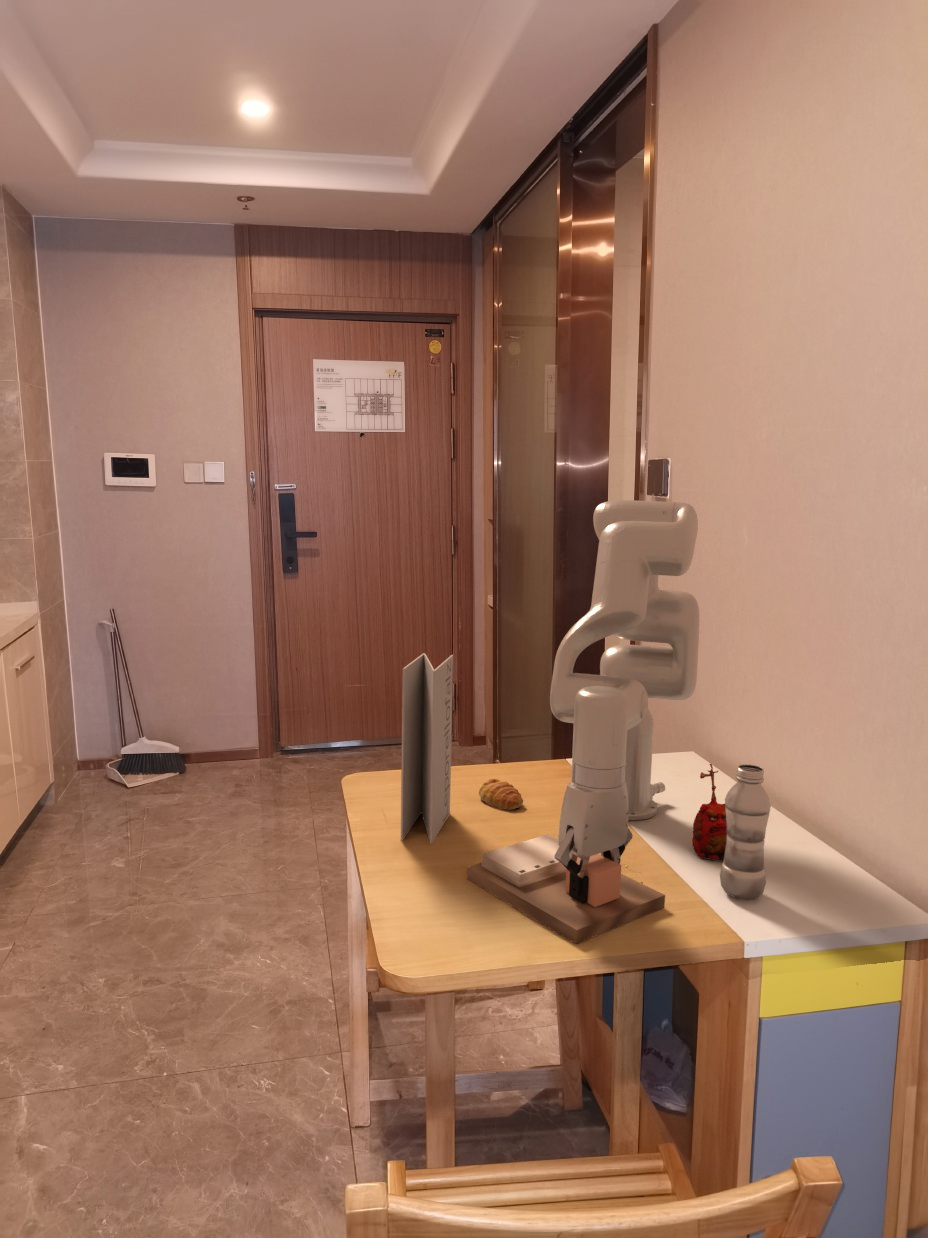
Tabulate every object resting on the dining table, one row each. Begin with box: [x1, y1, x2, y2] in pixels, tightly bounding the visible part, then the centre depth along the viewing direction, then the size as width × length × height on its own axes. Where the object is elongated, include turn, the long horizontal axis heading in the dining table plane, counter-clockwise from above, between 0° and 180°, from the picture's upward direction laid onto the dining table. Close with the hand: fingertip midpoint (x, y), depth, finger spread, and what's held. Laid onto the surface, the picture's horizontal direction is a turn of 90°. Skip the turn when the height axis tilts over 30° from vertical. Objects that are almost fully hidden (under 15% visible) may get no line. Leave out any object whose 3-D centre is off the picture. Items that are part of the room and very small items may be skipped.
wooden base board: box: [466, 833, 666, 945], centre depth 135 cm, size 18×24×4 cm
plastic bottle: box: [719, 763, 772, 900], centre depth 135 cm, size 6×7×20 cm
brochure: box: [400, 652, 454, 844], centre depth 158 cm, size 14×6×30 cm, turn 168°
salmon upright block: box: [566, 853, 622, 907], centre depth 130 cm, size 5×6×5 cm
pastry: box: [478, 778, 524, 811], centre depth 173 cm, size 9×7×4 cm
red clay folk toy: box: [691, 763, 727, 861], centre depth 150 cm, size 8×7×15 cm
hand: (592, 893), depth 131 cm, fingers closed on salmon upright block, 5 cm apart
